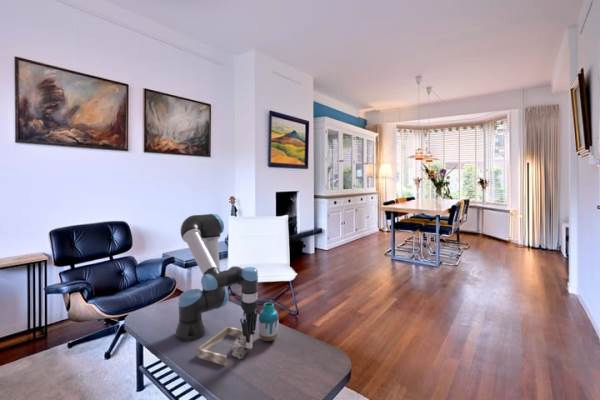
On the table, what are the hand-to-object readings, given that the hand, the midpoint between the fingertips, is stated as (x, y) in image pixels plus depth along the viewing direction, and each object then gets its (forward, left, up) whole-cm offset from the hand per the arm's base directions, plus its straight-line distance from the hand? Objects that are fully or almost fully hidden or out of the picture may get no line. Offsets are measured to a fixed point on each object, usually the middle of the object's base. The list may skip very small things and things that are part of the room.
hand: (249, 347), depth 145 cm
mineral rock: (-5, 0, -4) cm, 6 cm away
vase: (+2, +16, -4) cm, 16 cm away
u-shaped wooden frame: (-13, 0, -3) cm, 14 cm away
